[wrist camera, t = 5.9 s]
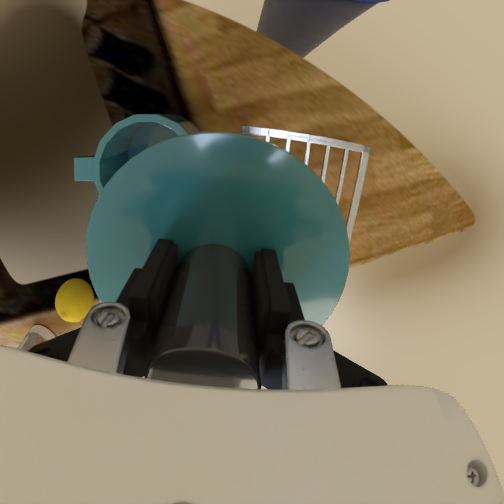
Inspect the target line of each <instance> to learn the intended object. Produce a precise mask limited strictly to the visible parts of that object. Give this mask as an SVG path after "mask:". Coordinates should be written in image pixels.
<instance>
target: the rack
mask: <svg viewBox="0 0 504 504" xmlns="http://www.w3.org/2000/svg"><path fill="white" fill-rule="evenodd" d="M241 134H244V135H259V136H265V141H268V142H269V141H270V137H276V138H283V139H286V144H285V150H286V151H288V152H289V149H290V142H291V140H297V141H303V142H306V148H305V154H304V161H303V163H305V164H306V165H307V166H308V160H309V153H310V147H311V143H316V144H321V145H326V147H325V153H324V159H323V165H322V171H321V177H320V179H321V180H322V181H323V183H324V181H325V176H326V170H327V164H328V158H329V152H330V146H332V147H338V148H343V149H344V154H343V159H342V165H341V171H340V176H339V181H338V186H337V192H336V197H335V200H336V202H337V204H338V205H339V200H340V195H341V190H342V185H343V180H344V175H345V169H346V164H347V158H348V153H349V150H353V151H357V152H360V153H361V155H360V161H359V166H358V171H357V176H356V181H355V186H354V191H353V196H352V201H351V205H350V210H349V214H348V218H347V223H346V228H347V233H348V238H349V242H350V239H351V235H352V231H353V227H354V223H355V218H356V214H357V210H358V205H359V201H360V197H361V192H362V187H363V182H364V178H365V173H366V168H367V162H368V157H369V151H370V146H366V145H361V144H357V143H352V142H348V141H343V140H338V139H333V138H328V137H322V136H317V135H311V134H305V133H299V132H292V131H285V130H278V129H270V128H262V127H253V126H246V125H242V131H241Z"/></svg>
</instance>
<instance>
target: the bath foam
mask: <svg viewBox="0 0 504 504" xmlns="http://www.w3.org/2000/svg"><path fill="white" fill-rule="evenodd" d="M52 338H55V335H54V334H53V333H52V332H51V331H50V330H49V329H47V328H46V327H44V326H41V325H35V326H33V327H32V328H31V329H30V331H29V332H28V333H27V335H26V336H25V338H24V339H23V341H22V342H21V344H20V345H19V347H18V348H17V349H21V350H25V351H28V350H29V349H31V348H32V347H33V346H35V345H37V344H39V343H42V342H45V341H47V340H50V339H52Z"/></svg>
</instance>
